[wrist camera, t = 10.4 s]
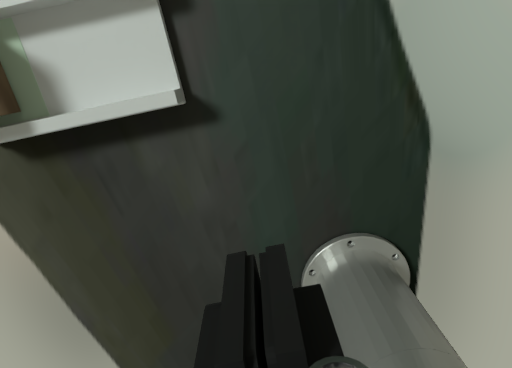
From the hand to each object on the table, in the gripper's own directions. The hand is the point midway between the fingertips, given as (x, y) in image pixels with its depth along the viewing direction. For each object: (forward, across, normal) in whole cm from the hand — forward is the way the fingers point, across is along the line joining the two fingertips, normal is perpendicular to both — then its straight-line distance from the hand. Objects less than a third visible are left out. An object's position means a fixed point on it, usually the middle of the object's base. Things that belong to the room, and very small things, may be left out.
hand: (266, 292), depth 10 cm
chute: (+27, +16, -10) cm, 33 cm away
